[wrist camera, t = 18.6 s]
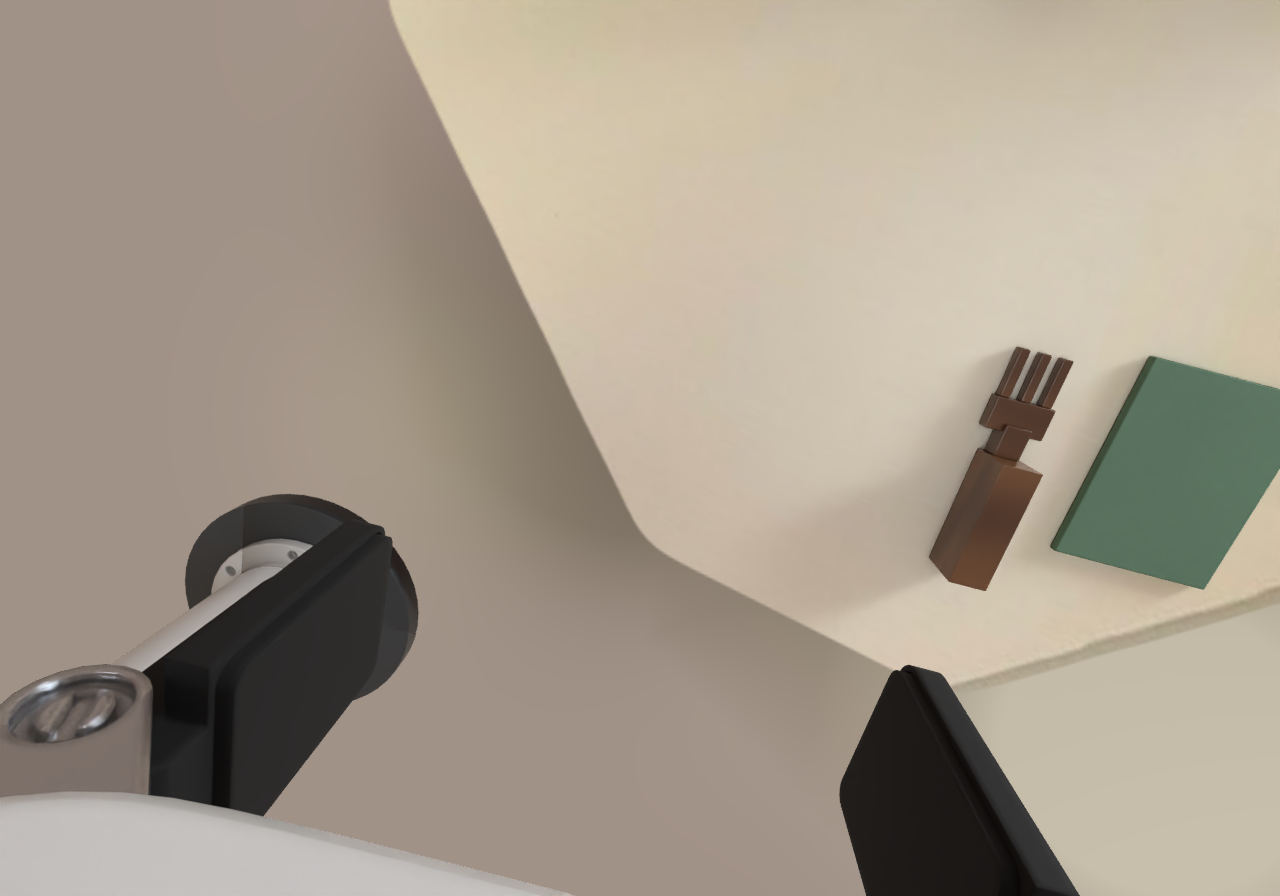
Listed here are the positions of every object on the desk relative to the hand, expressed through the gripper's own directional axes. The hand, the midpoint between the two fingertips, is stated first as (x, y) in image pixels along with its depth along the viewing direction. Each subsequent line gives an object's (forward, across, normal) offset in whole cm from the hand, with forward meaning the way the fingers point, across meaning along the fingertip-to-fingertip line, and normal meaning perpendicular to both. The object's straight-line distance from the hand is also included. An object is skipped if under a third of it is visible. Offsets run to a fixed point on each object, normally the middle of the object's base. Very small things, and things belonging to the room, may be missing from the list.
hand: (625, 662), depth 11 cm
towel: (+28, -32, -2) cm, 43 cm away
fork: (+28, -21, +1) cm, 35 cm away
